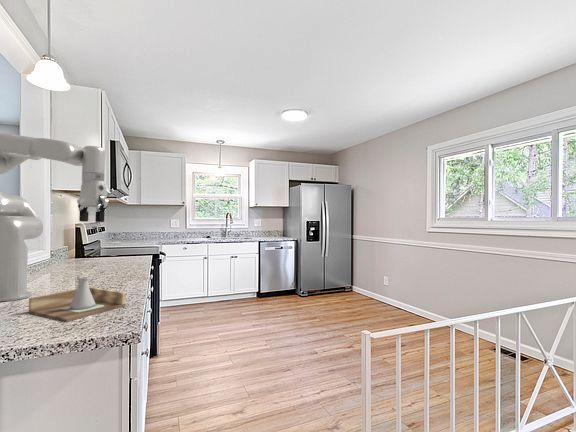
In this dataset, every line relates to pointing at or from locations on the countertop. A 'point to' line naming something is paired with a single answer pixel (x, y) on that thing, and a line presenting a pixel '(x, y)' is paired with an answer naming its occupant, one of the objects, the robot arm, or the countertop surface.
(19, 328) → the countertop surface
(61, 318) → the tray
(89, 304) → the flask
